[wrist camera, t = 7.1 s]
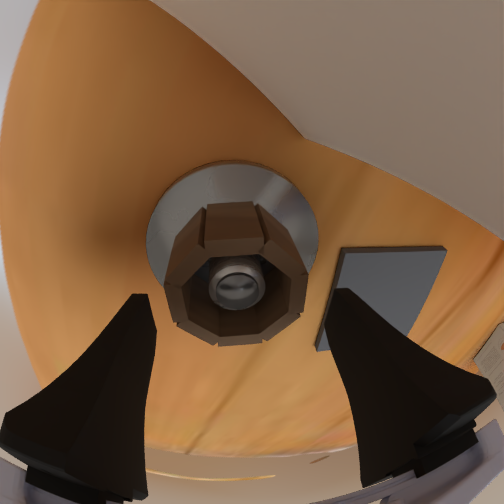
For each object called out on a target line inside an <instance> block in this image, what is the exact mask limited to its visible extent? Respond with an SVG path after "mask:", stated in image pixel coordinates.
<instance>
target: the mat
mask: <svg viewBox="0 0 504 504" xmlns="http://www.w3.org/2000/svg"><path fill="white" fill-rule="evenodd" d="M446 253H447V250H446V249H445V248H444V247H443V246H439V247H378V248H342V249H341V254H340V258H339V262H338V266H337V270H336V274H335V278H334V282H333V286H332V289H331V293H330V297H329V300H328V304H327V307H326V311H325V314H324V318H323V321H322V324H321V328H320V331H319V334H318V338H317V341H316V344H315V348H316V351H317V352H318V351H326V350H330V347H329V344H328V340H327V336H326V332H325V327H324V322H325V319H326V316H327V313H328V309H329V306H330V302H331V299H332V295H333V292H334V288H349V289H351V290H352V291H353V292H354V293H355V294H357V295H358V296H359V297H360V298H361V299H362V300H363V301H364V302H366V303H367V304H368V305H369V306H370V307H371V308H372V309H373V310H375V311H376V312H377V313H378V314H379V315H380V316H382V317H383V318H384V319H385V320H386V321H387V322H389V323H390V324H391V325H392V326H393V327H395V328H396V329H397V330H398V331H400V332H401V333H402V334H404V335H405V336H407V335H408V333H409V332H410V330H411V328H412V326H413V324H414V322H415V321H416V319H417V317H418V315H419V313H420V311H421V309H422V307H423V305H424V303H425V301H426V299H427V297H428V295H429V293H430V291H431V288H432V286H433V284H434V282H435V280H436V277H437V275H438V273H439V270H440V268H441V266H442V263H443V261H444V258H445V256H446Z"/></svg>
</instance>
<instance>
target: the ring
mask: <svg viewBox="0 0 504 504" xmlns="http://www.w3.org/2000/svg"><path fill="white" fill-rule="evenodd" d="M253 254H260V255H262V256H263V257H264V258H265V259H267V260H268V261H269V262H271V263H272V264H273V265H274V266H275V267H274V268H273V269H271V270H270V271H269V272H268V273H267V274H266V275H265V276H264V281H265V292H264V295H263V297H262V298H261V299H260V301H259V302H257V303H256V304H255V305H253V306H251V307H249V308H246V309H242V310H229V309H225V308H222V307H220V306H219V305H217V304H216V303H215V302H214V301H213V300H212V299H211V297H210V294H209V283H207V282H206V281H204V280H203V279H201V278H200V277H198V276H197V275H195V274H194V273H195V272H196V271H197V270H198V269H199V268H200V267H201V266H202V265H203V264H204V263H205V262H206V261H207V260H208V259H209V258H210V257H224V256H239V255H253ZM308 275H309V274H308V272H307V269H306V267H305V265H304V263H303V261H302V258H301V256H300V254H299V252H298V250H297V248H296V246H295V244H294V242H293V239H292V237H291V235H290V233H289V231H288V229H287V228H286V227H284V226H283V225H282V224H281V223H280V222H279V221H278V220H277V219H276V218H274V217H273V216H272V215H271V214H270V213H269V212H268V211H267V210H265V209H264V208H263V207H262V206H261V205H260V204H259V203H257V204H256V205H255V206H254V204H253V201H247V202H230V203H215V204H207V210H206V209H205V208H204V207H201V208H200V209H199V211H198V212H197V213H196V214H195V215H194V216H193V217H192V218H191V219H190V221H189V222H188V223H187V224H186V225H185V226H184V227H183V228H182V230H181V231H180V232H179V233H178V234H177V235H176V237H175V239H174V243H173V247H172V251H171V255H170V259H169V263H168V267H167V271H166V276H165V280H164V284H163V286H164V290H165V294H166V298H167V301H168V305H169V309H170V313H171V316H172V320H173V323H174V322H177V327H179V328H181V329H183V330H184V331H186V332H188V333H190V334H192V335H194V336H196V337H198V338H199V339H201V340H203V341H205V342H207V343H209V344H211V345H215V344H216V343H217V342H218V347H219V346H233V345H246V344H257V343H262V339H264V340H266V341H268V340H270V339H271V338H272V337H274V336H275V335H276V334H278V333H279V332H280V331H282V330H283V329H285V328H286V327H287V326H289V325H290V324H291V323H293V322H294V321H295V320H297V319H298V318H299V317H300V313H302V312H303V311H304V304H305V297H306V290H307V283H308Z"/></svg>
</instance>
